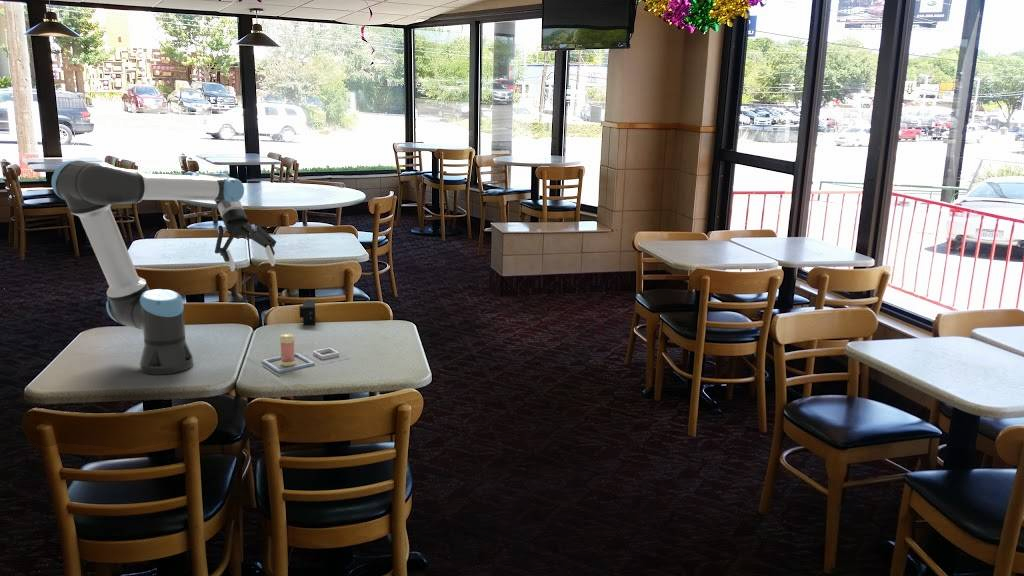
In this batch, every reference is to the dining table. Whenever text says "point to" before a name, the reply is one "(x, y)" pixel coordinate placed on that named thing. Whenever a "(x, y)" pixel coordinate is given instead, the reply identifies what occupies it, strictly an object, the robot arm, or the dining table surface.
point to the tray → (309, 363)
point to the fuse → (287, 349)
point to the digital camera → (308, 312)
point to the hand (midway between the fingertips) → (254, 266)
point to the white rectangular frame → (326, 355)
